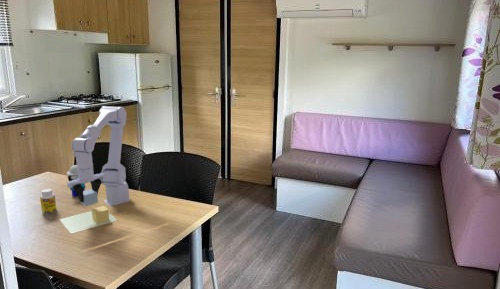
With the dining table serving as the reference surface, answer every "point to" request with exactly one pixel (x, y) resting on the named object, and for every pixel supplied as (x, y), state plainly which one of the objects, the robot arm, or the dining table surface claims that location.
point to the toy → (74, 175)
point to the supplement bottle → (48, 201)
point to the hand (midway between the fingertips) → (88, 199)
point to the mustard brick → (100, 214)
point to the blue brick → (89, 197)
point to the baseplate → (83, 222)
